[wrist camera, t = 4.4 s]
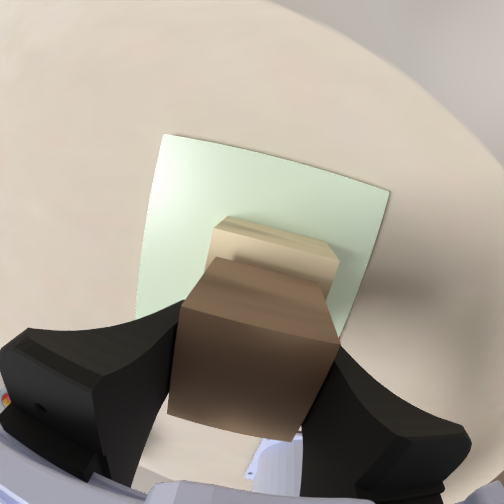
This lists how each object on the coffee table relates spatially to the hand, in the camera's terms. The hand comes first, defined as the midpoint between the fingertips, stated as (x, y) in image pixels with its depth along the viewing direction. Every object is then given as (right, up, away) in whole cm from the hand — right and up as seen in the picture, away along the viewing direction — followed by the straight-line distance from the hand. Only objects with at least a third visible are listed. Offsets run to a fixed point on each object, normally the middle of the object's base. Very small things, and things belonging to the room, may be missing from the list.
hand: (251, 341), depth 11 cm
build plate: (0, +1, +8) cm, 8 cm away
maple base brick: (+1, +2, +7) cm, 7 cm away
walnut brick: (0, 0, +2) cm, 2 cm away
